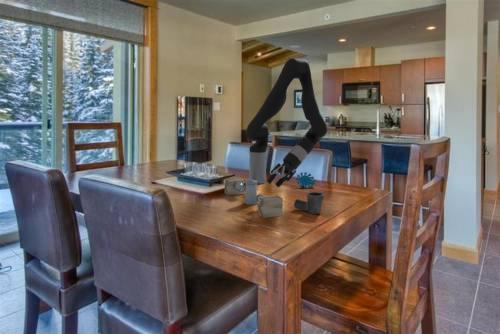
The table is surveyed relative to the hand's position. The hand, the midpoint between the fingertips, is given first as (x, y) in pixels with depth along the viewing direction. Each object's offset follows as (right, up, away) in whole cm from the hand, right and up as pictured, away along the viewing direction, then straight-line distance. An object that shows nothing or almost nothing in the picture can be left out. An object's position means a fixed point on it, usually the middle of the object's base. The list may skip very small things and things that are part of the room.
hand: (272, 184), depth 157 cm
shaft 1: (-15, -4, +8) cm, 18 cm away
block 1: (-18, -5, +14) cm, 23 cm away
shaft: (-5, -7, -15) cm, 18 cm away
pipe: (+14, -11, -16) cm, 23 cm away
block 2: (-2, -11, -20) cm, 23 cm away
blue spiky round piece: (+20, -3, +30) cm, 36 cm away
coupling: (-10, -8, -3) cm, 13 cm away
